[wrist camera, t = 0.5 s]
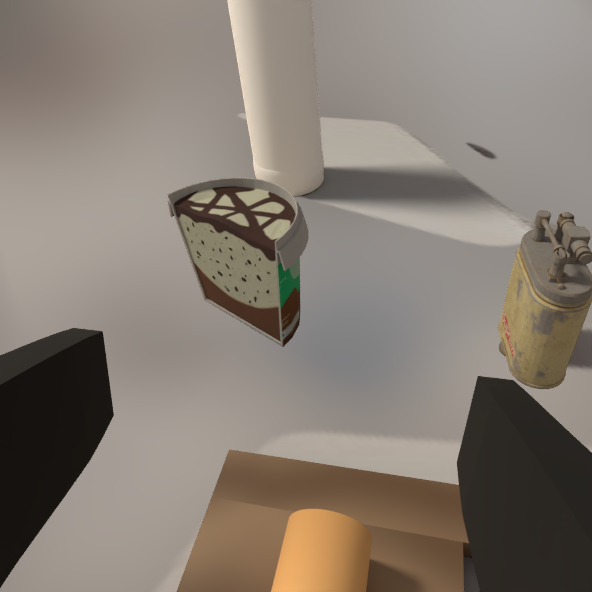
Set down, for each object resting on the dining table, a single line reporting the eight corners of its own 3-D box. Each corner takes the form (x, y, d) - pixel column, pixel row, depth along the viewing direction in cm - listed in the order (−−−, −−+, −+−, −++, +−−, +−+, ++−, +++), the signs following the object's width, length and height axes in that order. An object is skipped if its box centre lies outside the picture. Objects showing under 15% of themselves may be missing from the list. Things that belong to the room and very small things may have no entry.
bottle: (336, 171, 59) (319, -176, 40) (304, 204, 54) (267, -176, 35) (278, 162, 62) (237, -161, 43) (244, 192, 57) (178, -159, 38)
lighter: (570, 391, 32) (620, 269, 26) (509, 390, 33) (542, 269, 26) (541, 316, 38) (576, 199, 31) (489, 316, 38) (513, 201, 32)
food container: (348, 310, 40) (343, 201, 34) (297, 355, 37) (281, 244, 31) (244, 259, 47) (223, 160, 41) (193, 293, 44) (163, 192, 38)
